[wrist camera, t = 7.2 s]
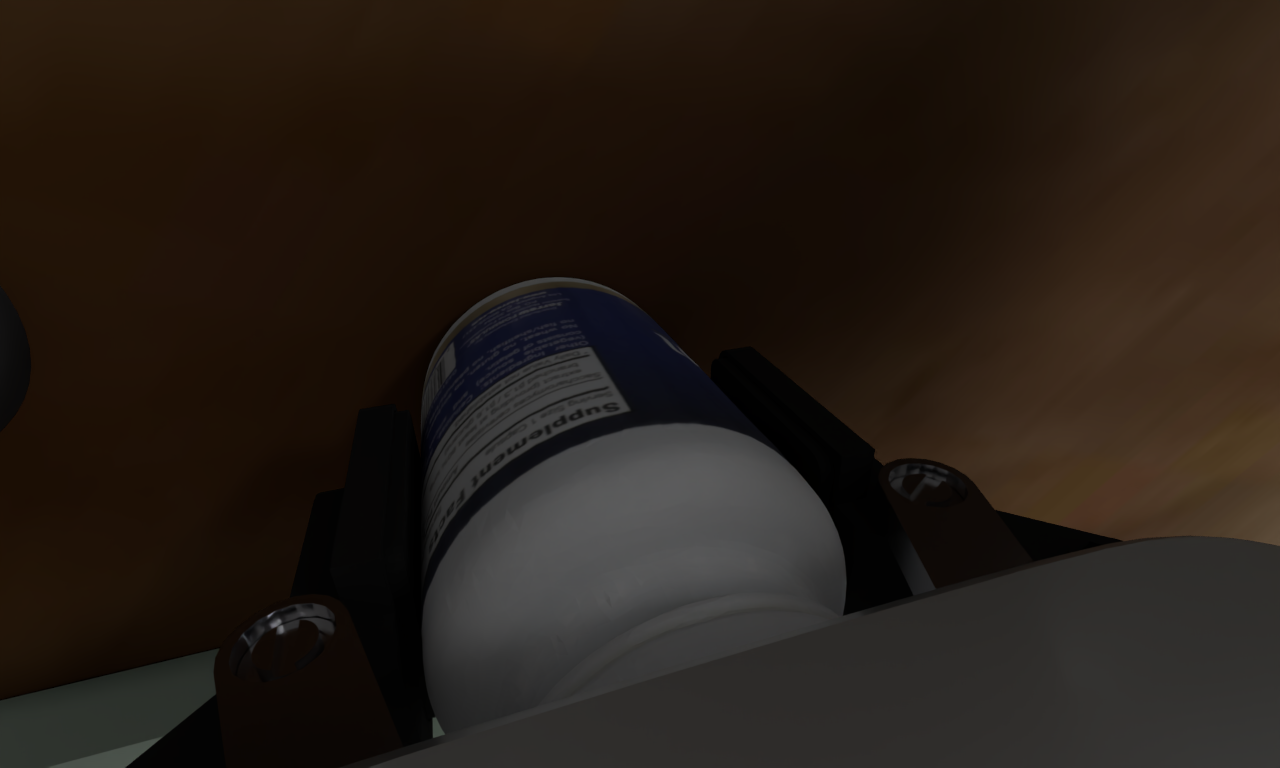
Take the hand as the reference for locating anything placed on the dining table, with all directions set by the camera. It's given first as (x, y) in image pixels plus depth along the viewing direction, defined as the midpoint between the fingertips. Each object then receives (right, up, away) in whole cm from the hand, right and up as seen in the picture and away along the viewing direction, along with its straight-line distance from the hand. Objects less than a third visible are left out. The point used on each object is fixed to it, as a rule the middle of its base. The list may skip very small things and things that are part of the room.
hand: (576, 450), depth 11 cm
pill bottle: (-1, +1, +2) cm, 3 cm away
